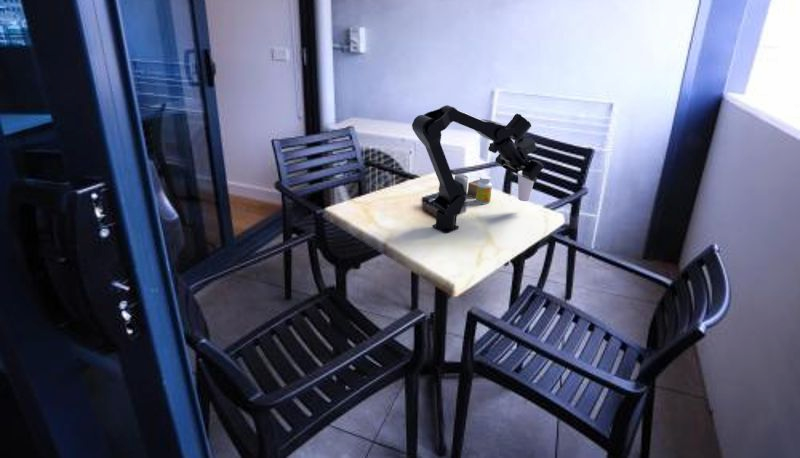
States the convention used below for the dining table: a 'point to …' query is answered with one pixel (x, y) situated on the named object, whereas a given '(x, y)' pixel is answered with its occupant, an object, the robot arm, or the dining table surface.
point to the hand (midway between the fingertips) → (529, 178)
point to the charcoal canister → (462, 181)
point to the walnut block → (472, 188)
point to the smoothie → (524, 187)
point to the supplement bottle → (484, 190)
